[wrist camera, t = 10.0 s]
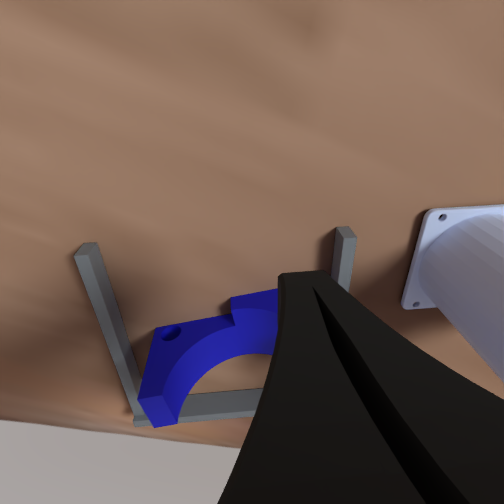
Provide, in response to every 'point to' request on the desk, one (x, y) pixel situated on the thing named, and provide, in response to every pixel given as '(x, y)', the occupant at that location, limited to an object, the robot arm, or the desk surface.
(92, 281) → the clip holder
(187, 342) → the cable clip
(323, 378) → the robot arm
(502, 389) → the desk surface
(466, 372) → the desk surface
